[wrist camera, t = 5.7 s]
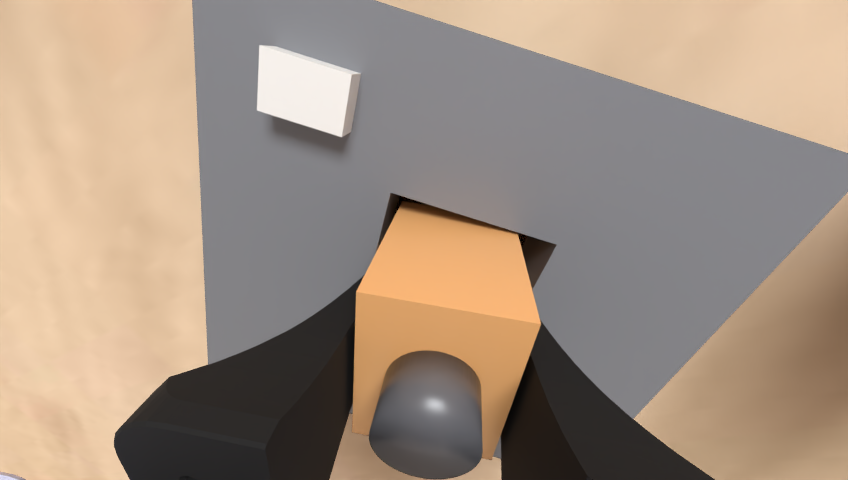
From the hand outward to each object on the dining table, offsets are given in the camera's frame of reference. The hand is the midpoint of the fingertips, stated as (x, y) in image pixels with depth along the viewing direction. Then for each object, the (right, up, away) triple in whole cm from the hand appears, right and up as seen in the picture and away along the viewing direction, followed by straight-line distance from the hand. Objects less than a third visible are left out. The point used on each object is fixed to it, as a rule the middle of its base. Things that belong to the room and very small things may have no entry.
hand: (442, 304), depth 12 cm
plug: (0, +1, +1) cm, 2 cm away
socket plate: (0, +2, +3) cm, 3 cm away
